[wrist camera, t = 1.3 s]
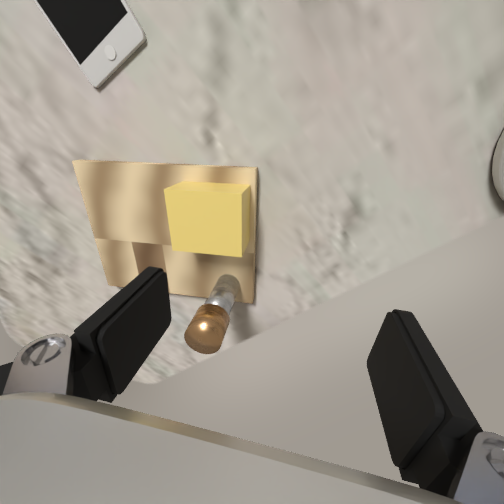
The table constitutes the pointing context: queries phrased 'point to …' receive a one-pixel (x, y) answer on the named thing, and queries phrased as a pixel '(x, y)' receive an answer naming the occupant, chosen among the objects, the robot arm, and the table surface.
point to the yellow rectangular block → (209, 217)
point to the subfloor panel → (159, 224)
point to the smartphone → (95, 33)
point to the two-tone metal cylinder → (213, 317)
